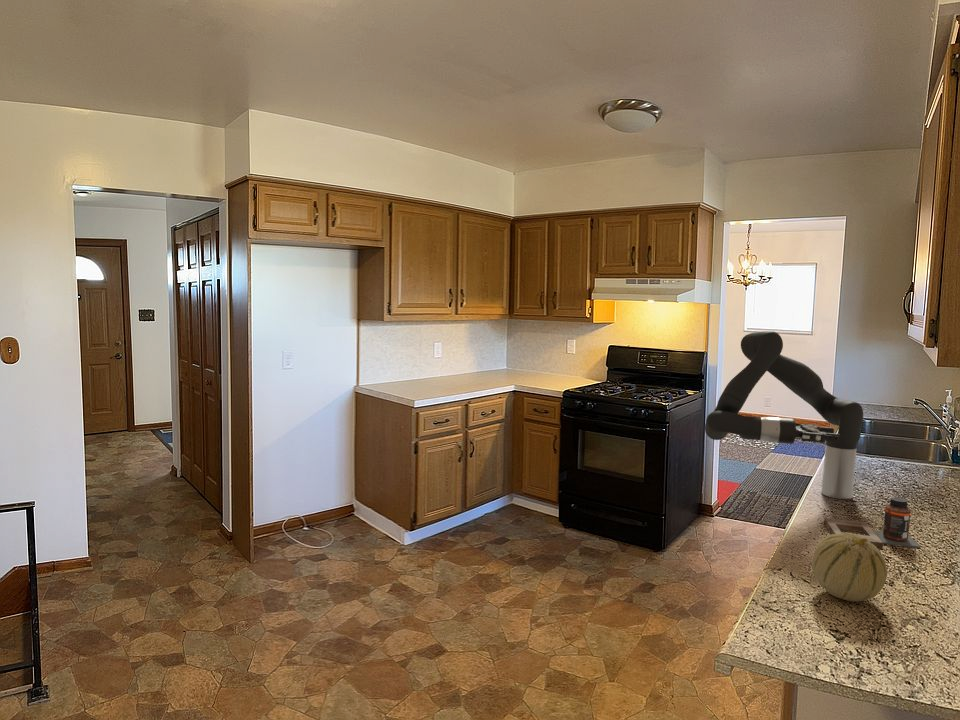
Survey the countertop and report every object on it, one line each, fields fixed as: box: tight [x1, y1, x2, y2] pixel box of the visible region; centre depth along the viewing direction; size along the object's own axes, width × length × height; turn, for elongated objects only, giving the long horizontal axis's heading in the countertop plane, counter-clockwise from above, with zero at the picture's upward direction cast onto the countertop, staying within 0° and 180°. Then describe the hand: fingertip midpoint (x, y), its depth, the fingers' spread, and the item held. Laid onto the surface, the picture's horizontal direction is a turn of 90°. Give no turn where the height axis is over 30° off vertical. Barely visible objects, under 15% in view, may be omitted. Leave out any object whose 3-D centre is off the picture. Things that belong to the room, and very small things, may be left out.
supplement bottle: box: [882, 496, 912, 541], centre depth 177 cm, size 6×6×11 cm
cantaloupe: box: [811, 532, 888, 603], centre depth 142 cm, size 15×15×15 cm
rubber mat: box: [873, 530, 921, 549], centre depth 177 cm, size 9×9×1 cm
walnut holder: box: [823, 517, 884, 549], centre depth 180 cm, size 16×11×2 cm
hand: (837, 434), depth 183 cm, fingers open, 8 cm apart
